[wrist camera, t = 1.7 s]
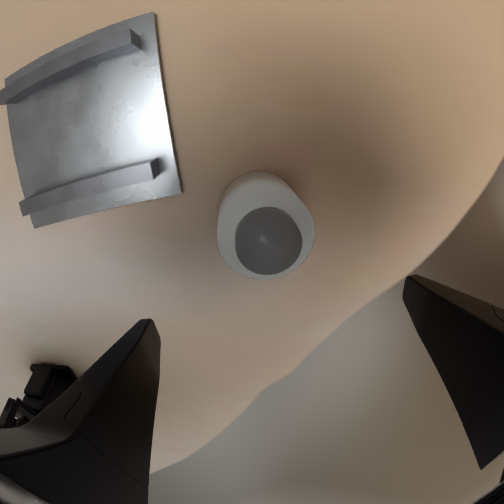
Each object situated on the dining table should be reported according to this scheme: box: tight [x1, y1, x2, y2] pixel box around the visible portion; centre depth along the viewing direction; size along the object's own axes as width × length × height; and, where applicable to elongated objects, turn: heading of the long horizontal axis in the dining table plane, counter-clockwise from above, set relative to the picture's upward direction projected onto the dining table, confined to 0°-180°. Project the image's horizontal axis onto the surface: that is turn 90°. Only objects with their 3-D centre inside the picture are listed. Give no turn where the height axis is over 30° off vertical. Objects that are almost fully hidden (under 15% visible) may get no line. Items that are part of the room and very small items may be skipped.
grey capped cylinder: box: [217, 172, 315, 280], centre depth 16 cm, size 5×5×6 cm
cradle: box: [0, 12, 183, 229], centre depth 14 cm, size 12×12×2 cm
